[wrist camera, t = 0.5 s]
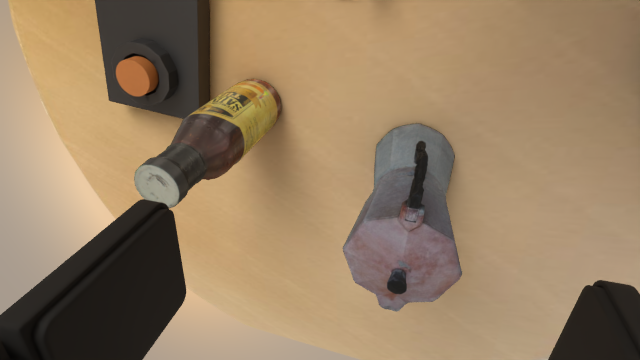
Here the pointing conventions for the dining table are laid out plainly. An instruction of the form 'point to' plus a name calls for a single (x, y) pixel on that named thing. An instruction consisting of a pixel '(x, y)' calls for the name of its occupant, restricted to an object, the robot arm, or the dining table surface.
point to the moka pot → (406, 221)
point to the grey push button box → (159, 50)
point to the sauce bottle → (210, 141)
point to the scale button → (137, 75)
